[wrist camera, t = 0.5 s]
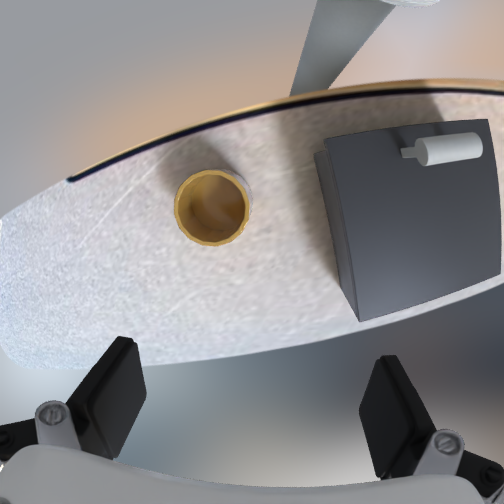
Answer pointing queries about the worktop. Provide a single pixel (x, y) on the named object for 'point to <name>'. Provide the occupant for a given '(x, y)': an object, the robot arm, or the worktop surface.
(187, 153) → the worktop surface
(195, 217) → the cup
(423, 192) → the lid
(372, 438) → the robot arm
